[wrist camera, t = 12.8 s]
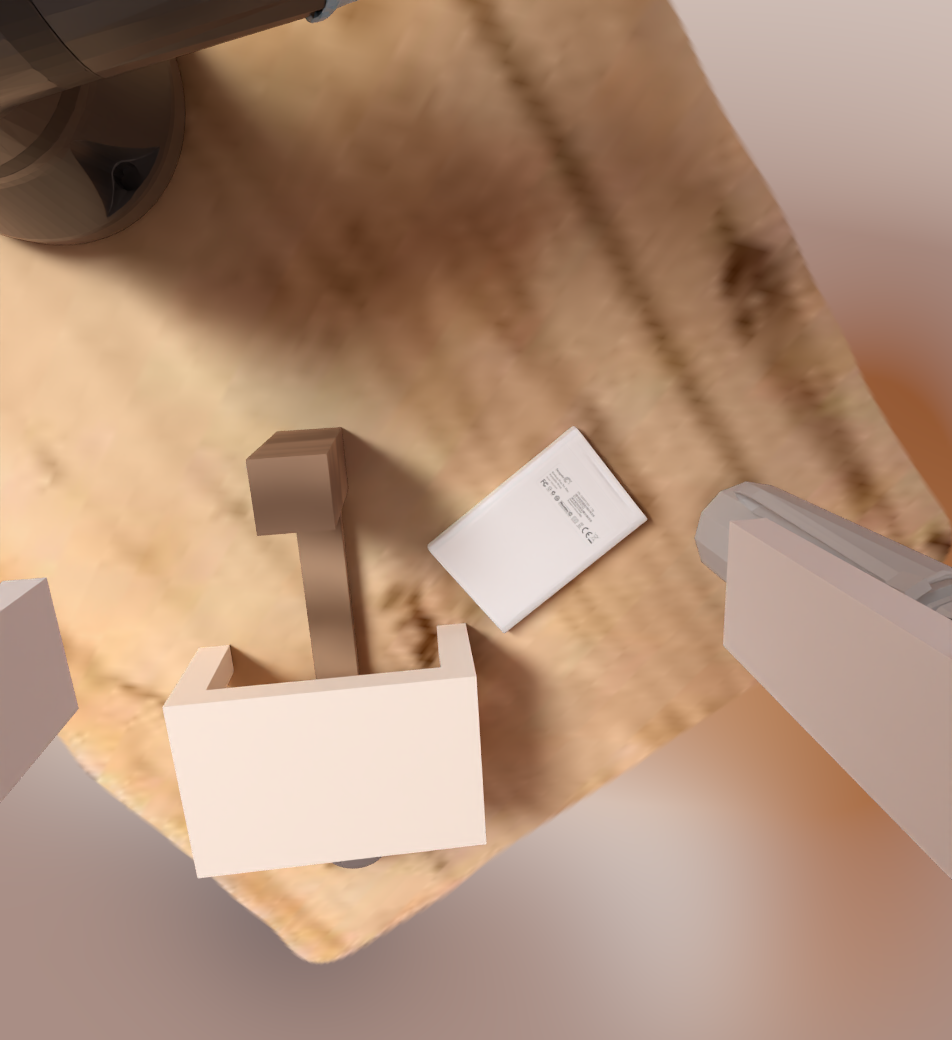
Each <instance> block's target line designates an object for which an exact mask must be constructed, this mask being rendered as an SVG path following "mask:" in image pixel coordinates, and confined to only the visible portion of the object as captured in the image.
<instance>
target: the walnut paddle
mask: <svg viewBox="0 0 952 1040" xmlns="http://www.w3.org/2000/svg"><path fill="white" fill-rule="evenodd" d="M246 464H247V471H248V478H249V484H250V491H251V498H252V504H253V511H254V518H255V524H256V531H257V536H261V535H273V534H286V533H297V539H298V547H299V555H300V562H301V570H302V577H303V585H304V592H305V600H306V607H307V615H308V622H309V630H310V637H311V645H312V652H313V660H314V667H315V675H316V679H326V678H337V677H347V676H357V675H360V672H359V663H358V655H357V646H356V637H355V628H354V619H353V610H352V601H351V592H350V584H349V575H348V566H347V557H346V548H345V539H344V530H343V522H342V513H341V510H342V507H343V504H344V501H345V498H346V495H347V492H348V482H347V472H346V463H345V454H344V445H343V436H342V427H338V428H323V429H309V430H294V431H279V432H276V433H275V434H274V435H273V436H272V437H270V438H269V439H268V440H267V441H266V442H265V443H264V444H263V445H262V446H260V447H259V448H258V449H257V450H256V451H255V452H254V453H253V454H252V455H251V456H249V457H248V458H247V459H246Z"/></svg>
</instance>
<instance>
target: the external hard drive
mask: <svg viewBox="0 0 952 1040" xmlns="http://www.w3.org/2000/svg"><path fill="white" fill-rule="evenodd" d="M645 521H647V518H646V516H645V515H644V514H643V512H642V511H641V510H640V509H639V507H638V506H637V505H636V504H635V502H634V501H633V500H632V498H631V497H630V496H629V495H628V493H627V492H626V491H625V490H624V488H623V487H622V486H621V484H620V483H619V482H618V480H617V479H616V478H615V476H614V475H613V474H612V473H611V471H610V470H609V469H608V467H607V466H606V465H605V464H604V462H603V461H602V460H601V458H600V457H599V456H598V454H597V453H596V452H595V451H594V449H593V448H592V447H591V445H590V444H589V443H588V442H587V440H586V439H585V438H584V436H583V435H582V434H581V432H580V431H579V430H578V429H577V428H576V427H574V426H572V427H571V428H569V429H568V430H567V431H566V432H564V433H563V434H562V435H561V436H560V437H558V438H557V439H556V440H555V441H554V442H552V443H551V444H550V445H549V446H548V447H546V448H545V449H544V450H543V451H541V452H540V453H539V454H538V455H537V456H535V457H534V458H533V459H532V460H530V461H529V462H528V463H527V464H525V465H524V466H523V467H522V468H520V469H519V470H518V471H517V472H516V473H514V474H513V475H512V476H511V477H509V478H508V479H507V480H506V481H505V482H503V483H502V484H501V485H500V486H498V487H497V488H496V489H495V490H494V491H492V492H491V493H490V494H489V495H488V496H486V497H485V498H484V499H483V500H481V501H480V502H479V503H478V504H477V505H475V506H474V507H473V508H472V509H470V510H469V511H468V512H467V513H465V514H464V515H463V516H462V517H460V518H459V519H458V520H457V521H456V522H454V523H453V524H452V525H451V526H450V527H448V528H447V529H446V530H445V531H443V532H442V533H441V534H440V535H439V536H437V537H436V538H435V539H434V540H432V541H431V542H430V543H429V544H428V545H427V546H428V550H429V551H430V552H431V554H432V555H433V556H434V557H435V558H436V559H437V560H438V562H439V563H440V564H441V565H442V566H443V567H444V568H445V569H446V570H447V571H448V573H449V574H450V575H451V576H452V577H453V578H454V579H455V580H456V581H457V582H458V584H459V585H460V586H461V587H462V588H463V589H464V590H465V591H466V592H467V593H468V595H469V596H470V597H471V598H472V599H473V600H474V601H475V602H476V603H477V605H478V606H479V607H480V608H481V609H482V610H483V611H484V612H485V613H486V614H487V616H488V617H489V618H490V619H491V620H492V621H493V622H494V623H495V624H496V626H497V627H498V628H499V629H500V630H501V631H502V632H503V633H506V632H507V631H508V630H510V629H511V628H512V627H513V626H515V625H516V624H517V623H518V622H520V621H521V620H522V619H523V618H525V617H526V616H527V615H528V614H530V613H531V612H532V611H533V610H535V609H536V608H537V607H538V606H540V605H541V604H542V603H543V602H545V601H546V600H547V599H548V598H550V597H551V596H552V595H554V594H555V593H556V592H557V591H559V590H560V589H561V588H562V587H564V586H565V585H566V584H567V583H569V582H570V581H571V580H572V579H574V578H575V577H576V576H577V575H579V574H580V573H581V572H582V571H584V570H585V569H586V568H587V567H589V566H590V565H591V564H592V563H594V562H595V561H596V560H597V559H599V558H600V557H601V556H602V555H604V554H605V553H606V552H607V551H609V550H610V549H611V548H612V547H614V546H615V545H616V544H618V543H619V542H620V541H621V540H623V539H624V538H625V537H626V536H628V535H629V534H630V533H631V532H633V531H634V530H635V529H636V528H638V527H639V526H640V525H641V524H643V523H644V522H645Z"/></svg>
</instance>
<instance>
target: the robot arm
mask: <svg viewBox="0 0 952 1040" xmlns="http://www.w3.org/2000/svg"><path fill="white" fill-rule="evenodd" d="M355 1H357V0H0V234H1V235H4V236H8V237H12V238H17V239H22V240H26V241H31V242H36V243H43V244H52V245H72V244H81V243H88V242H92V241H96V240H100V239H103V238H106V237H108V236H111V235H113V234H115V233H118V232H119V231H121V230H123V229H125V228H127V227H128V226H130V225H131V224H133V223H134V222H135V221H137V220H138V219H139V218H141V217H142V216H143V215H144V214H145V213H146V212H147V211H148V210H149V209H150V208H151V207H152V206H153V205H154V204H155V203H156V201H157V200H158V199H159V197H160V196H161V195H162V193H163V192H164V190H165V188H166V187H167V185H168V183H169V181H170V179H171V177H172V175H173V173H174V171H175V168H176V166H177V162H178V159H179V156H180V152H181V148H182V143H183V137H184V128H185V100H184V92H183V85H182V80H181V75H180V71H179V67H178V64H177V61H176V57H179V56H182V55H185V54H189V53H192V52H195V51H198V50H202V49H205V48H208V47H211V46H215V45H218V44H221V43H225V42H228V41H231V40H234V39H238V38H241V37H244V36H247V35H251V34H254V33H257V32H260V31H264V30H267V29H270V28H274V27H277V26H280V25H283V24H287V23H290V22H293V21H296V20H300V19H303V18H306V20H307V21H308V22H310V23H314V22H319V21H323V20H325V19H326V18H328V17H329V16H330V15H331V14H332V13H333V12H334V11H335V10H336V8H338V7H341V6H344V5H347V4H349V3H352V2H355ZM723 646H724V647H725V648H726V649H727V650H728V651H729V652H730V653H731V654H732V655H733V656H734V657H735V658H736V659H737V660H738V661H739V662H740V663H741V664H742V665H743V666H744V668H745V669H746V670H747V671H748V672H749V673H750V674H751V675H752V676H753V677H754V678H755V679H756V680H757V681H758V682H759V683H760V684H761V685H762V686H763V687H764V688H765V689H766V690H767V691H768V692H769V693H770V694H771V695H772V696H773V697H774V698H775V699H776V700H777V701H778V702H779V703H780V704H781V705H782V706H783V707H784V708H785V710H786V711H788V712H789V714H790V715H791V716H792V717H793V718H794V719H795V720H796V721H797V722H798V723H799V724H800V725H801V726H802V727H803V728H804V729H805V730H806V731H807V732H808V733H809V734H810V735H811V736H812V737H813V738H814V739H815V740H816V741H817V742H818V743H819V744H820V745H821V746H822V747H823V748H824V749H825V750H826V751H827V753H829V755H830V756H832V757H833V758H834V760H835V761H836V762H837V763H838V764H839V765H840V766H841V767H842V768H843V769H844V770H845V771H846V772H847V773H848V774H849V775H850V776H851V777H852V778H853V779H854V780H855V781H856V782H857V783H858V784H859V785H860V786H861V787H862V788H863V789H864V790H865V791H866V792H867V793H868V794H869V795H870V797H871V798H872V799H874V801H875V802H876V803H877V804H878V805H879V806H880V807H881V808H882V809H883V810H884V811H885V812H886V813H887V814H888V815H889V816H890V817H891V818H892V819H893V820H894V821H895V822H896V823H897V824H898V825H899V826H900V827H901V828H902V829H903V830H904V831H905V832H906V833H907V834H908V835H909V836H910V837H911V839H912V840H913V841H914V842H916V844H917V845H918V846H919V847H920V848H921V849H922V850H923V851H924V852H925V853H926V854H927V855H928V856H929V857H930V858H931V859H932V860H933V861H934V862H935V863H936V864H937V865H938V866H939V867H940V868H941V869H942V870H943V871H944V872H945V873H946V874H947V875H948V876H949V877H950V878H951V880H952V619H951V618H948V617H945V616H943V615H941V614H939V613H938V612H936V611H934V610H932V609H930V608H929V607H927V606H925V605H923V604H921V603H920V602H918V601H916V600H914V599H912V598H910V597H909V596H907V595H905V594H903V593H901V592H900V591H898V590H896V589H894V588H892V587H891V586H889V585H887V584H885V583H883V582H881V581H880V580H878V579H876V578H874V577H872V576H871V575H869V574H867V573H865V572H863V571H861V570H860V569H858V568H856V567H854V566H852V565H851V564H849V563H847V562H845V561H843V560H842V559H840V558H838V557H836V556H834V555H832V554H831V553H829V552H827V551H825V550H823V549H822V548H820V547H818V546H816V545H814V544H813V543H811V542H809V541H807V540H805V539H803V538H802V537H800V536H798V535H796V534H794V533H793V532H791V531H789V530H787V529H785V528H784V527H782V526H780V525H778V524H776V523H774V522H773V521H771V520H769V519H767V518H760V519H748V520H736V521H730V522H729V542H728V561H727V581H726V600H725V619H724V639H723ZM78 709H79V708H78V704H77V700H76V696H75V692H74V688H73V684H72V680H71V676H70V672H69V667H68V663H67V659H66V655H65V651H64V647H63V643H62V639H61V635H60V631H59V626H58V622H57V618H56V614H55V610H54V606H53V602H52V598H51V594H50V590H49V585H48V581H47V578H35V579H23V580H11V581H3V582H1V583H0V803H1V801H2V800H3V799H4V798H5V797H6V796H7V794H8V793H9V792H10V791H11V790H12V788H13V787H14V786H15V785H16V784H17V782H18V781H19V780H20V779H21V777H22V776H23V775H24V774H25V772H26V771H27V770H28V769H29V768H30V766H31V765H32V764H33V763H34V762H35V760H36V759H37V758H38V757H39V756H40V755H41V753H42V752H43V751H44V750H45V749H46V747H47V746H48V745H49V744H50V743H51V741H52V740H53V739H54V738H55V736H56V735H57V734H58V733H59V732H60V730H61V729H62V728H63V727H64V726H65V724H66V723H67V722H68V721H69V720H70V718H71V717H72V716H73V715H74V714H75V712H76V711H77V710H78Z"/></svg>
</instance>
